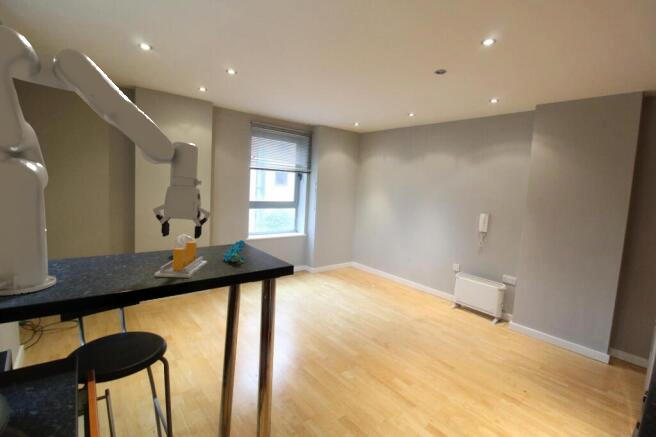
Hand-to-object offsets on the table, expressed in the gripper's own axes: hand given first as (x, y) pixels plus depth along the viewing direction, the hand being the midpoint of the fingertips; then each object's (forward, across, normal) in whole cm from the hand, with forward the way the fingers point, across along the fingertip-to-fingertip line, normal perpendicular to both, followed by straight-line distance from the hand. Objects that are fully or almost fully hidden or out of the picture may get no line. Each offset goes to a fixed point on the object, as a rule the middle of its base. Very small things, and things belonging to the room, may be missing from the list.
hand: (181, 236), depth 96 cm
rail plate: (+11, -1, 0) cm, 11 cm away
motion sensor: (+11, +6, -20) cm, 24 cm away
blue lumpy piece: (+10, -14, -14) cm, 22 cm away
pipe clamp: (+9, -1, 0) cm, 9 cm away
